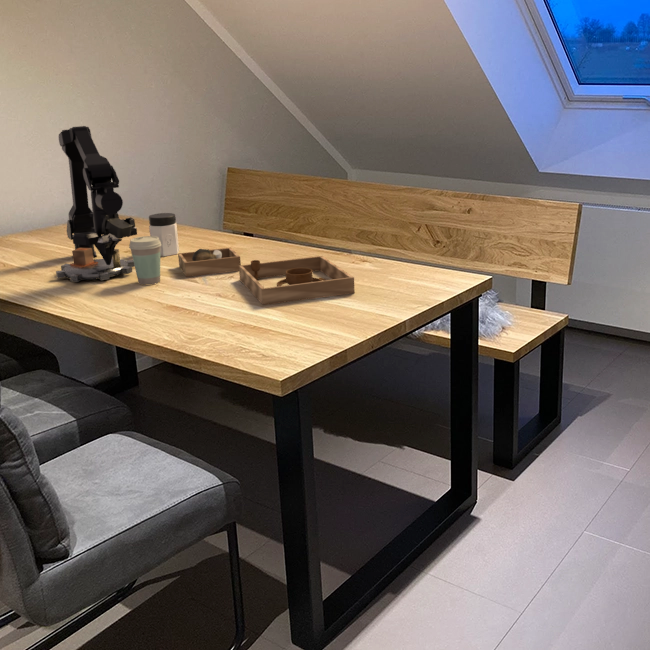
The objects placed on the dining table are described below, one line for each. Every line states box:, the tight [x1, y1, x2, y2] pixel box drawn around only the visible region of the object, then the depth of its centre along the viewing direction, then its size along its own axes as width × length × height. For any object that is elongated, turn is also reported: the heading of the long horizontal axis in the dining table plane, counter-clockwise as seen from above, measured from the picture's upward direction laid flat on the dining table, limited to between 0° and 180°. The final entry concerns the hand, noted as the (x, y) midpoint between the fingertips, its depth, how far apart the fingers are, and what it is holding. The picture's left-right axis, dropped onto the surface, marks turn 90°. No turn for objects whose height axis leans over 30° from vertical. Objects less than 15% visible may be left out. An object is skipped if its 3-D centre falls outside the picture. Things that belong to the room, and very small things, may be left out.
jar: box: [148, 212, 180, 257], centre depth 248 cm, size 9×8×12 cm
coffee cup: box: [128, 235, 161, 286], centre depth 216 cm, size 8×8×12 cm
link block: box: [71, 248, 94, 265], centre depth 230 cm, size 4×4×4 cm
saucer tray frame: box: [238, 255, 356, 306], centre depth 207 cm, size 26×24×4 cm
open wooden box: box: [177, 247, 242, 278], centre depth 228 cm, size 13×16×4 cm
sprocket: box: [55, 248, 135, 283], centre depth 227 cm, size 22×22×6 cm
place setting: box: [250, 259, 327, 287], centre depth 210 cm, size 18×20×6 cm
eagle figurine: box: [192, 248, 222, 261], centre depth 227 cm, size 8×7×9 cm
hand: (108, 264), depth 223 cm, fingers closed
